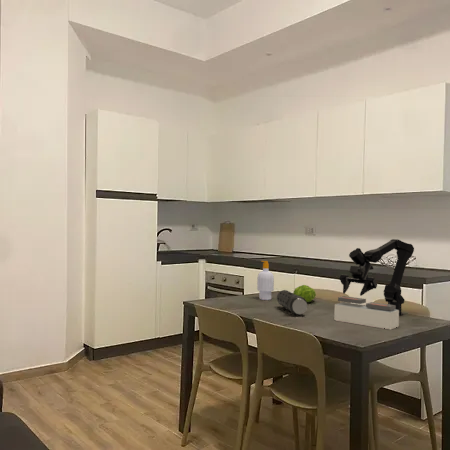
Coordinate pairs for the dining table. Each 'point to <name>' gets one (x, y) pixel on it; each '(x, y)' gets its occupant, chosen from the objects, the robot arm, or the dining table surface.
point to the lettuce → (305, 292)
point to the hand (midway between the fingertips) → (351, 294)
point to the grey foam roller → (292, 302)
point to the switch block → (366, 315)
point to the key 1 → (351, 300)
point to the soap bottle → (265, 282)
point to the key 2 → (380, 306)
